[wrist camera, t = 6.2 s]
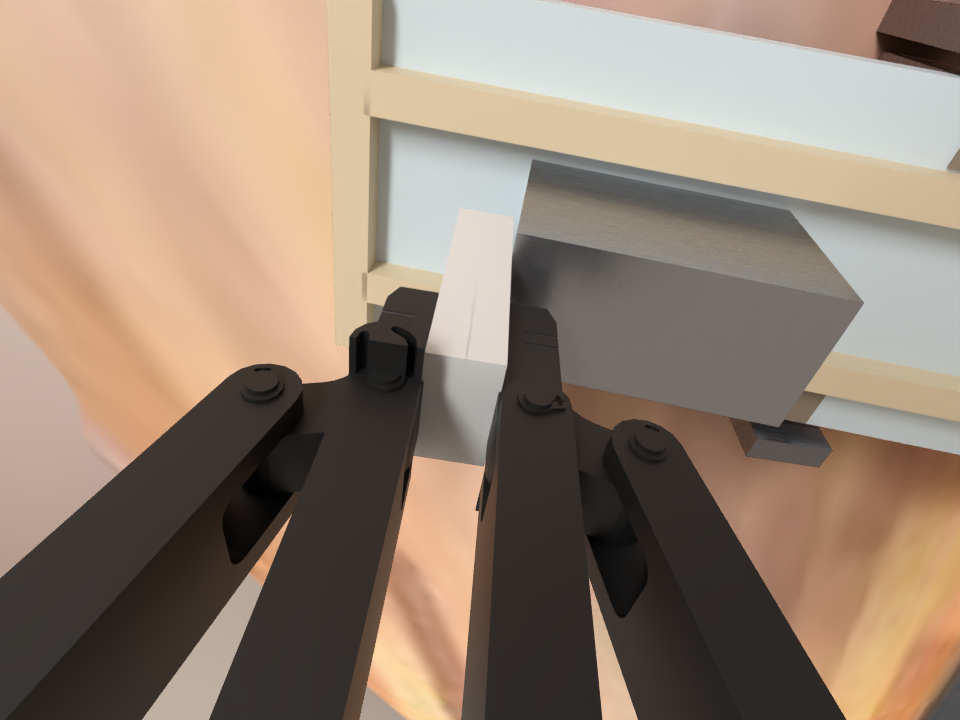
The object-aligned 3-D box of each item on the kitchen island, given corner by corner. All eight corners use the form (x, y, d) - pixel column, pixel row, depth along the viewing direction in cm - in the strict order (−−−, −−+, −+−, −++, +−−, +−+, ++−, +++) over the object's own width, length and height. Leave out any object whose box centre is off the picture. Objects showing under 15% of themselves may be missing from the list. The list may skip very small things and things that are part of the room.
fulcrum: (895, -6, 17) (1035, 16, 12) (986, 11, 17) (1160, 38, 13) (706, 363, 26) (745, 456, 22) (766, 372, 26) (818, 467, 22)
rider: (532, 158, 17) (516, 232, 12) (789, 210, 17) (864, 302, 12) (509, 272, 19) (489, 366, 15) (732, 318, 19) (778, 427, 15)
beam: (354, -38, 15) (325, -35, 14) (1670, 206, 15) (1818, 241, 13) (354, 314, 23) (335, 344, 21) (1227, 490, 22) (1284, 537, 20)
